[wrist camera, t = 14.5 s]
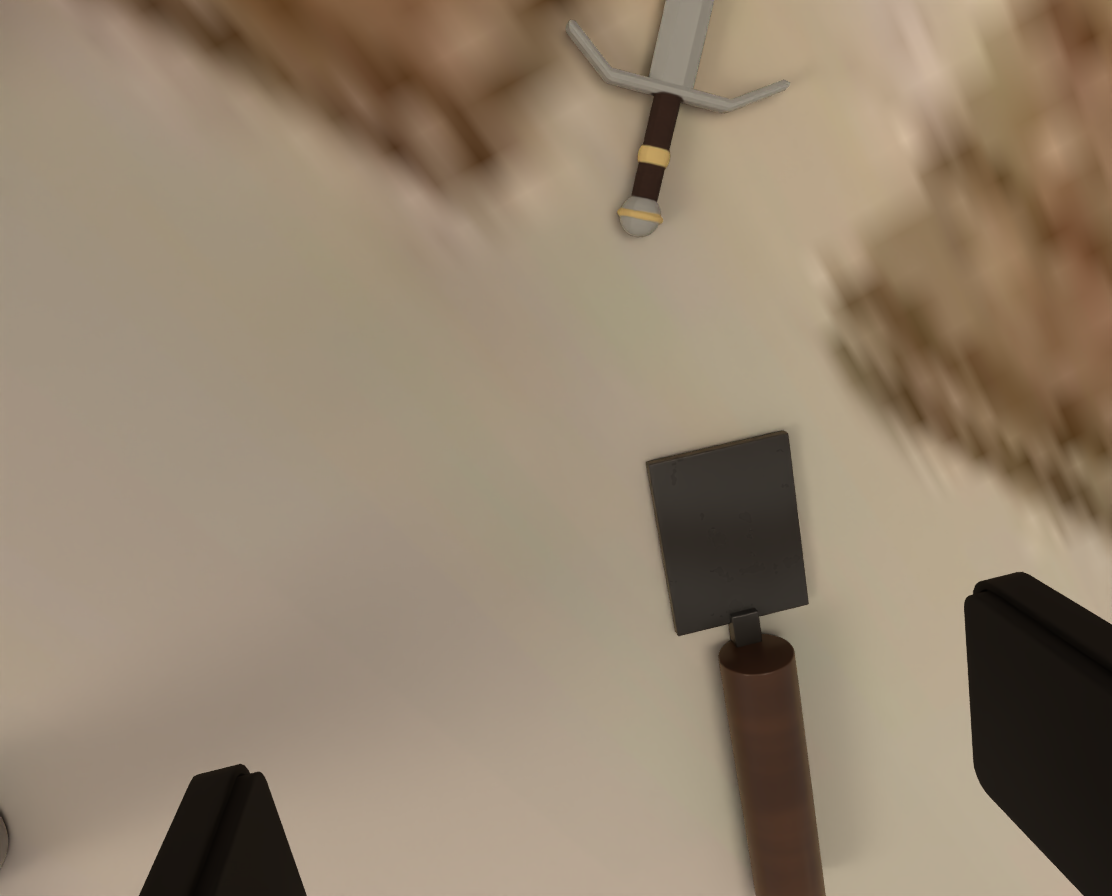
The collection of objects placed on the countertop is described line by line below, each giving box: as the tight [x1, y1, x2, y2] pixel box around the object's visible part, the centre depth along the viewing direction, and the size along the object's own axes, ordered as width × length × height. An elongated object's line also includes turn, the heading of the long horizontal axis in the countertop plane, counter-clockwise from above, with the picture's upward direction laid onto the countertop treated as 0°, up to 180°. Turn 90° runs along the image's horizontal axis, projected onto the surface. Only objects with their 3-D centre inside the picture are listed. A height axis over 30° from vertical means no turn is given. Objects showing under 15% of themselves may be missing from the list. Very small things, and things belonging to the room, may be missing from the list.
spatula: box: [646, 431, 826, 896], centre depth 36 cm, size 23×6×3 cm, turn 11°
